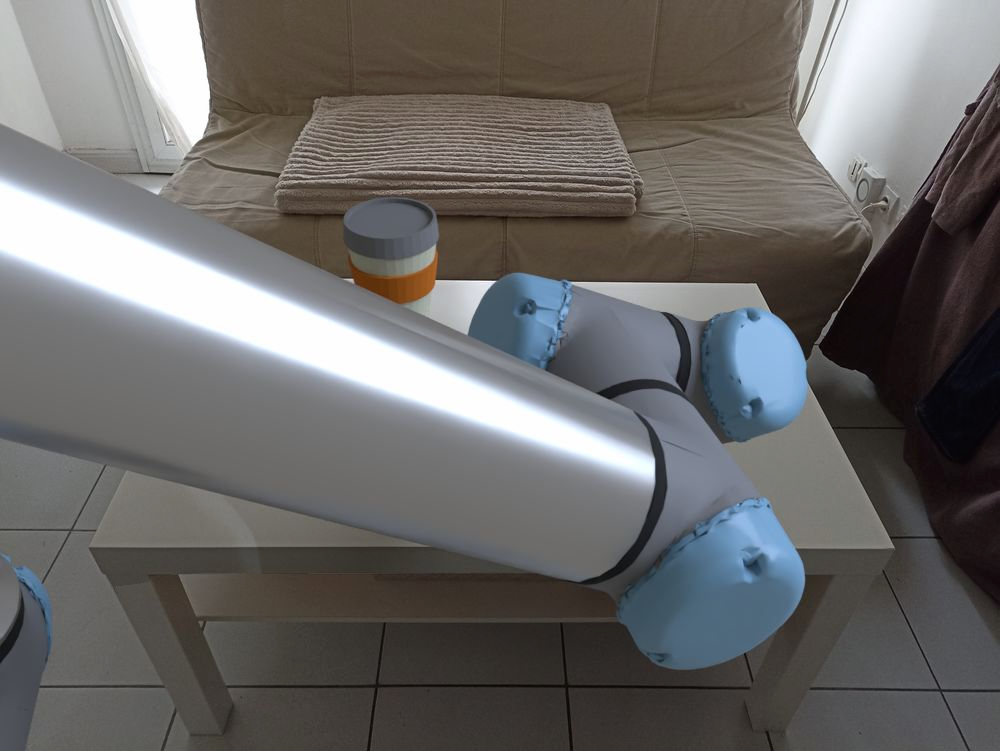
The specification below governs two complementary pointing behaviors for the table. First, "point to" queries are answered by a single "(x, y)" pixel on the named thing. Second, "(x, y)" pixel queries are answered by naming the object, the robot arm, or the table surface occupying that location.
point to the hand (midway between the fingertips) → (466, 458)
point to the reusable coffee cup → (394, 249)
